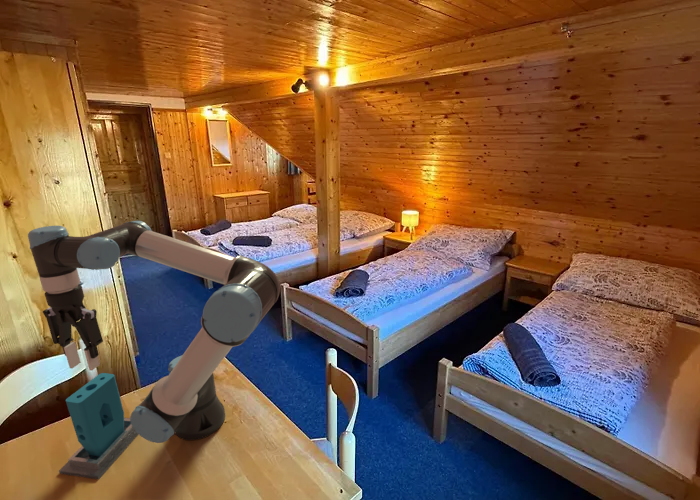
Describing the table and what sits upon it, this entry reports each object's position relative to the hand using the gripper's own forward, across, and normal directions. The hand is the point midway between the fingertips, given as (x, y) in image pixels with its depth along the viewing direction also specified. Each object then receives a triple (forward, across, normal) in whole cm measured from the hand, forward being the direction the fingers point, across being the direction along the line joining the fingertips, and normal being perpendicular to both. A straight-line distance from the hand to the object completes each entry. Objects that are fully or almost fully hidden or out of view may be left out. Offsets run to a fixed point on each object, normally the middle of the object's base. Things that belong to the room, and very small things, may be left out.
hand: (85, 366), depth 100 cm
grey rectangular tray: (+28, 0, 0) cm, 28 cm away
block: (+27, 0, 0) cm, 27 cm away
